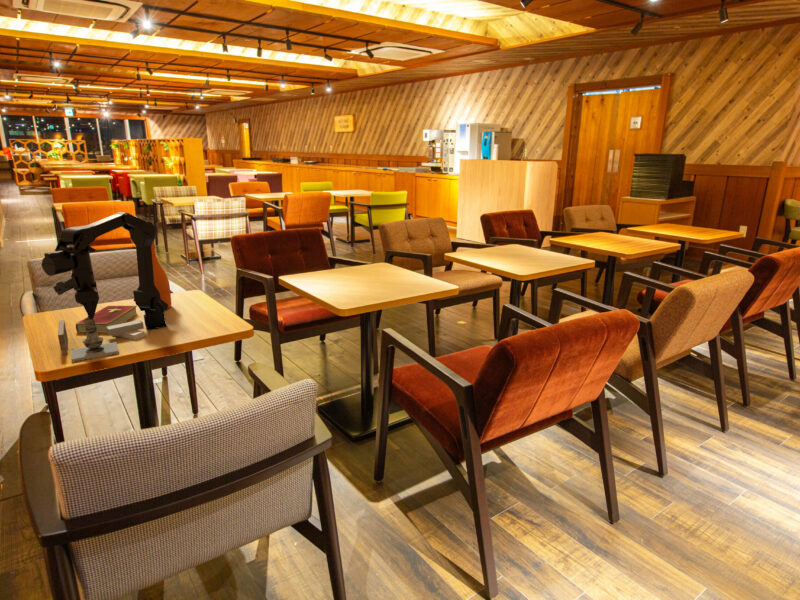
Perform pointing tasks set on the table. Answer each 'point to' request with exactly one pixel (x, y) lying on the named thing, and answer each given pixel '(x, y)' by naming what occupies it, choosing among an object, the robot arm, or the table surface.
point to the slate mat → (81, 354)
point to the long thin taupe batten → (63, 337)
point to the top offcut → (125, 327)
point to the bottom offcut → (132, 334)
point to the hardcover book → (109, 317)
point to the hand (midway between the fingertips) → (91, 314)
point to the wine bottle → (160, 279)
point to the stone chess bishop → (92, 337)
